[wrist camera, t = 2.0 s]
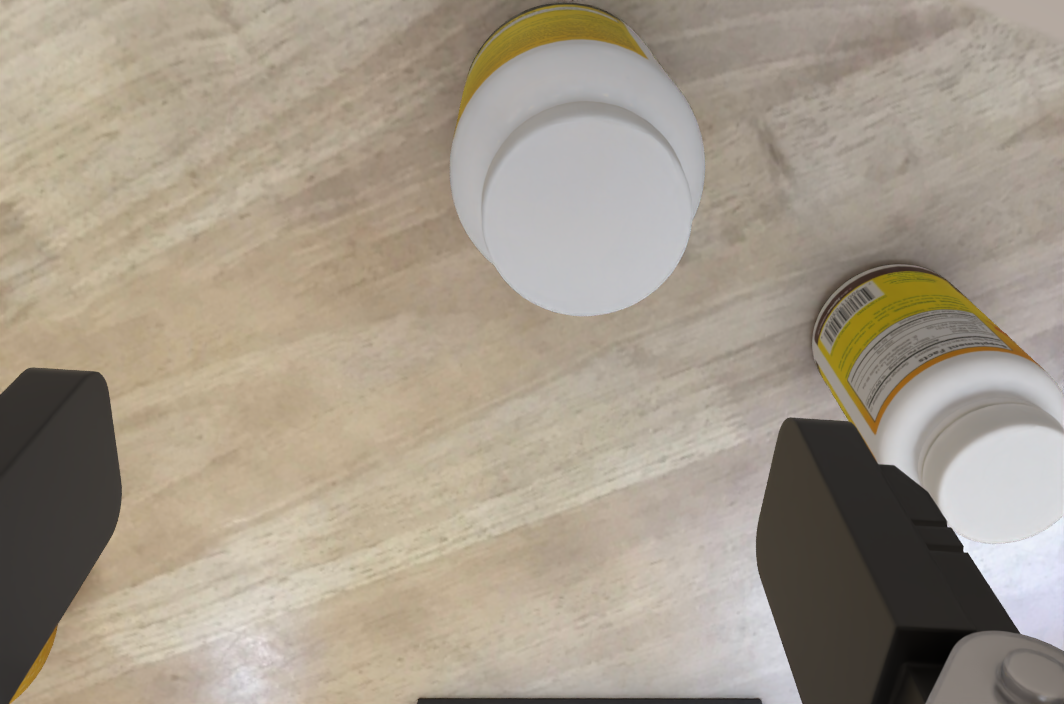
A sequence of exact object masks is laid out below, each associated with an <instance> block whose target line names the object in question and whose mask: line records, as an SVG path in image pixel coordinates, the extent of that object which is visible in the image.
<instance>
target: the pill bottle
mask: <svg viewBox="0 0 1064 704" xmlns="http://www.w3.org/2000/svg"><path fill="white" fill-rule="evenodd" d="M704 179H705V154H704V146H703V140H702V136H701V132H700V129H699V125H698V123H697V120H696V118H695V115H694V113H693V111H692V109H691V107H690V105H689V103H688V102H687V100H686V98H685V96H684V95H683V94H682V92H681V91H680V90H679V88H678V87H677V86H676V85H675V83H674V82H673V81H672V80H671V78H670V77H669V76H668V75H667V73H666V72H665V71H664V70H663V68H662V67H661V66H660V64H659V63H658V62H657V60H656V59H655V58H654V56H653V55H652V53H651V51H650V50H649V48H648V47H647V46H646V44H645V43H644V42H643V41H642V40H641V38H640V37H639V36H638V35H637V34H636V33H635V32H634V31H633V30H632V29H631V28H630V27H629V26H628V25H627V24H625V23H624V22H623V21H621V20H620V19H618V18H617V17H615V16H614V15H612V14H610V13H608V12H606V11H603V10H601V9H598V8H595V7H592V6H589V5H584V4H577V3H551V4H545V5H541V6H537V7H534V8H531V9H529V10H526V11H524V12H522V13H520V14H518V15H516V16H514V17H513V18H511V19H509V20H508V21H507V22H505V23H504V24H503V25H501V26H500V27H499V28H498V29H497V30H495V31H494V33H493V34H492V35H491V36H490V37H489V38H488V39H487V40H486V42H485V43H484V44H483V46H482V47H481V48H480V50H479V51H478V53H477V55H476V57H475V59H474V61H473V62H472V64H471V67H470V70H469V73H468V76H467V79H466V83H465V86H464V91H463V95H462V100H461V104H460V109H459V114H458V119H457V124H456V128H455V133H454V137H453V142H452V148H451V155H450V184H451V191H452V197H453V201H454V205H455V208H456V211H457V214H458V216H459V219H460V221H461V223H462V225H463V227H464V229H465V231H466V233H467V235H468V236H469V238H470V239H471V241H472V242H473V244H474V245H475V246H476V247H477V249H478V250H479V251H480V252H481V254H482V255H483V256H484V257H485V258H486V259H487V260H488V261H490V262H491V263H492V264H493V265H494V266H495V268H496V269H497V271H498V272H499V274H500V275H501V276H502V278H503V279H504V280H505V281H506V282H507V283H508V285H509V286H510V287H511V288H512V289H513V290H515V291H516V292H517V293H518V294H520V295H521V296H522V297H524V298H525V299H527V300H528V301H530V302H532V303H533V304H536V305H538V306H540V307H542V308H544V309H547V310H550V311H552V312H556V313H560V314H565V315H571V316H596V315H602V314H608V313H612V312H616V311H619V310H622V309H625V308H627V307H630V306H632V305H634V304H636V303H638V302H639V301H641V300H643V299H644V298H646V297H647V296H648V295H650V294H651V293H653V292H654V291H655V290H656V289H658V288H659V287H660V286H661V285H662V284H663V283H664V282H665V281H666V280H667V278H668V277H669V276H670V275H671V274H672V272H673V271H674V269H675V268H676V266H677V265H678V263H679V261H680V259H681V258H682V256H683V253H684V251H685V249H686V246H687V243H688V240H689V237H690V232H691V226H692V221H693V219H694V217H695V214H696V211H697V209H698V207H699V203H700V200H701V196H702V192H703V186H704Z"/></svg>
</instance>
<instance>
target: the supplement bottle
mask: <svg viewBox="0 0 1064 704" xmlns="http://www.w3.org/2000/svg"><path fill="white" fill-rule="evenodd" d="M812 350H813V357H814V360H815V363H816V366H817V369H818V371H819V373H820V374H821V376H822V378H823V380H824V381H825V383H826V385H827V386H828V388H829V390H830V391H831V393H832V394H833V396H834V398H835V399H836V401H837V402H838V404H839V406H840V408H841V409H842V411H843V412H844V414H845V416H846V417H847V419H848V421H849V422H852V423H853V424H854V425H855V427H856V428H857V430H858V431H859V433H860V435H861V436H862V438H863V440H864V441H865V443H866V445H867V446H868V448H869V450H870V451H871V453H872V455H873V456H874V458H875V460H876V461H877V463H878V464H884V465H895V466H896V467H897V468H898V469H900V470H901V471H902V472H904V473H905V474H906V475H907V476H909V477H910V478H911V479H912V480H914V481H915V482H916V483H917V484H919V485H920V486H921V487H923V488H924V489H925V490H926V491H928V492H929V494H930V496H931V497H932V499H933V500H934V502H935V503H936V505H937V506H938V508H939V509H940V511H941V512H942V514H943V516H944V517H945V519H946V520H947V524H948V526H949V527H950V528H952V529H953V530H954V531H955V532H957V533H958V534H959V535H961V536H963V537H965V538H967V539H970V540H973V541H976V542H981V543H988V544H1002V543H1011V542H1016V541H1019V540H1023V539H1026V538H1029V537H1032V536H1034V535H1036V534H1038V533H1040V532H1042V531H1044V530H1046V529H1047V528H1049V527H1050V526H1052V525H1053V524H1055V523H1056V522H1057V521H1058V520H1059V519H1060V518H1061V517H1062V516H1063V515H1064V395H1063V393H1062V391H1061V389H1060V388H1059V386H1058V385H1057V383H1056V382H1055V381H1054V380H1053V379H1052V378H1051V377H1050V376H1049V374H1048V373H1047V372H1046V371H1045V370H1044V369H1043V368H1042V367H1041V366H1040V365H1038V364H1037V363H1036V362H1035V361H1034V360H1033V359H1032V358H1031V357H1030V356H1029V355H1028V354H1027V353H1025V352H1024V351H1023V350H1022V349H1021V348H1020V347H1019V346H1018V345H1017V344H1016V343H1015V342H1014V341H1013V340H1012V339H1011V338H1010V337H1009V336H1008V335H1007V334H1006V333H1004V332H1003V331H1002V330H1001V329H1000V328H999V327H998V326H996V325H995V324H994V323H993V322H992V321H991V320H990V319H989V318H988V317H987V316H986V315H985V314H984V313H982V312H981V311H980V310H979V309H978V308H977V307H976V306H975V305H974V304H972V303H971V302H970V301H969V300H968V299H967V298H966V297H965V296H964V295H963V294H962V293H961V292H960V291H959V290H958V289H957V288H955V287H954V286H953V285H952V284H951V283H950V282H948V281H947V280H946V279H944V278H943V277H942V276H940V275H939V274H937V273H935V272H933V271H931V270H928V269H926V268H922V267H919V266H914V265H906V264H894V265H886V266H881V267H876V268H873V269H870V270H867V271H865V272H863V273H861V274H859V275H857V276H855V277H853V278H851V279H850V280H848V281H847V282H846V283H844V284H843V285H842V286H841V287H839V288H838V289H837V290H836V291H835V292H834V293H833V294H832V295H831V297H830V298H829V299H828V300H827V302H826V303H825V305H824V306H823V308H822V310H821V311H820V313H819V316H818V318H817V320H816V323H815V327H814V331H813V338H812Z"/></svg>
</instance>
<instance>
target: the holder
mask: <svg viewBox="0 0 1064 704" xmlns="http://www.w3.org/2000/svg"><path fill="white" fill-rule="evenodd" d="M417 704H762V702H761V700H760V699H418V703H417Z"/></svg>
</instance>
